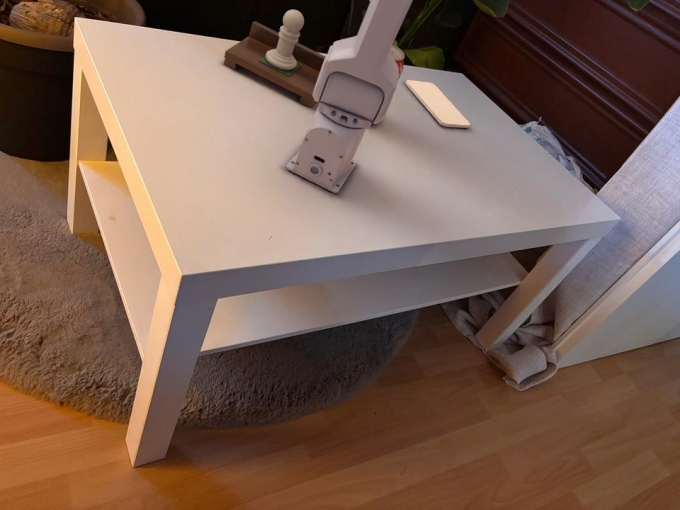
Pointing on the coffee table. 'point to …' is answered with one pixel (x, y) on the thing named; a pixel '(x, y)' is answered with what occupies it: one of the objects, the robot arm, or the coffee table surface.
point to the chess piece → (286, 41)
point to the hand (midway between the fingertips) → (358, 46)
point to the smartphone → (437, 104)
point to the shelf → (254, 59)
